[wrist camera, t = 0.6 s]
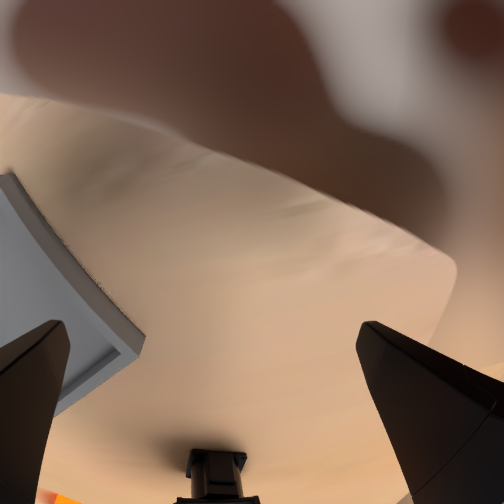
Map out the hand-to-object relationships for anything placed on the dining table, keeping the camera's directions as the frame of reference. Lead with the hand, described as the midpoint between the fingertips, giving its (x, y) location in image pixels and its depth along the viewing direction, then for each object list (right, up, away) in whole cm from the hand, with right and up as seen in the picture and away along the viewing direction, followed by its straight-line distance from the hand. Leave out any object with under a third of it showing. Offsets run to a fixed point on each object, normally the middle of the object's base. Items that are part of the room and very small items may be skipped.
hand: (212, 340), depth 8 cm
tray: (-19, -3, +13) cm, 24 cm away
